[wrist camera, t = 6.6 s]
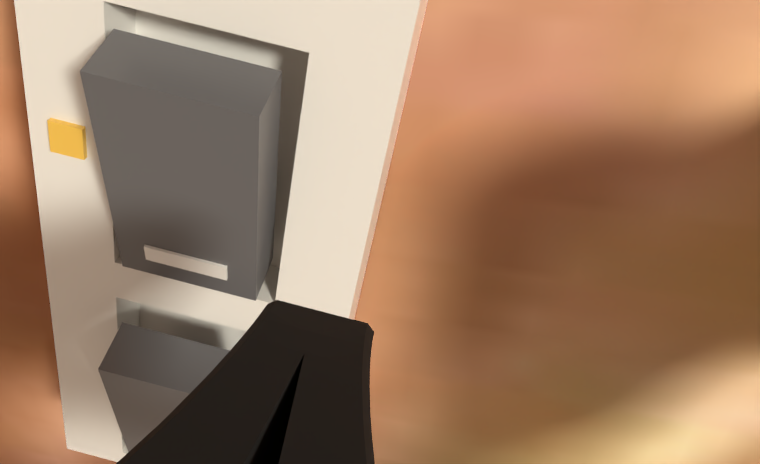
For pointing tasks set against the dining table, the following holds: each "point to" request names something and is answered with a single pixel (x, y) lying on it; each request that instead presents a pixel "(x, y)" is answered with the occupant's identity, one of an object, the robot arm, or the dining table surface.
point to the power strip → (294, 170)
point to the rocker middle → (187, 159)
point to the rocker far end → (152, 376)
